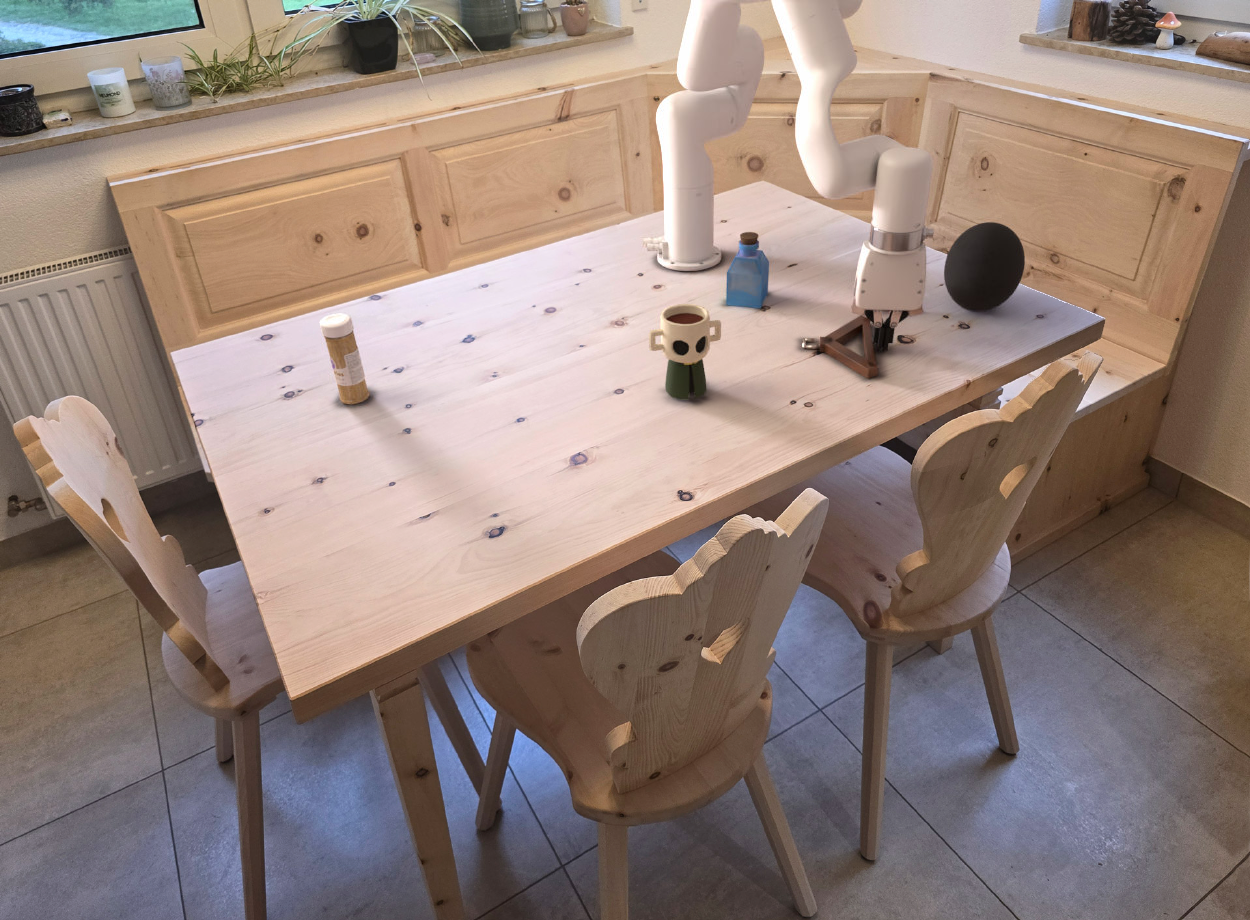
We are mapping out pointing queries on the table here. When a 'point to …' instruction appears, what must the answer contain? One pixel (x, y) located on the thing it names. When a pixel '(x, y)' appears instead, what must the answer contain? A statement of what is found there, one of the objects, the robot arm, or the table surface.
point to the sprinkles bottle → (345, 358)
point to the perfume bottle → (748, 274)
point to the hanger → (846, 356)
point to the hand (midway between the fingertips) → (881, 346)
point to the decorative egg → (984, 266)
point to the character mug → (685, 347)
